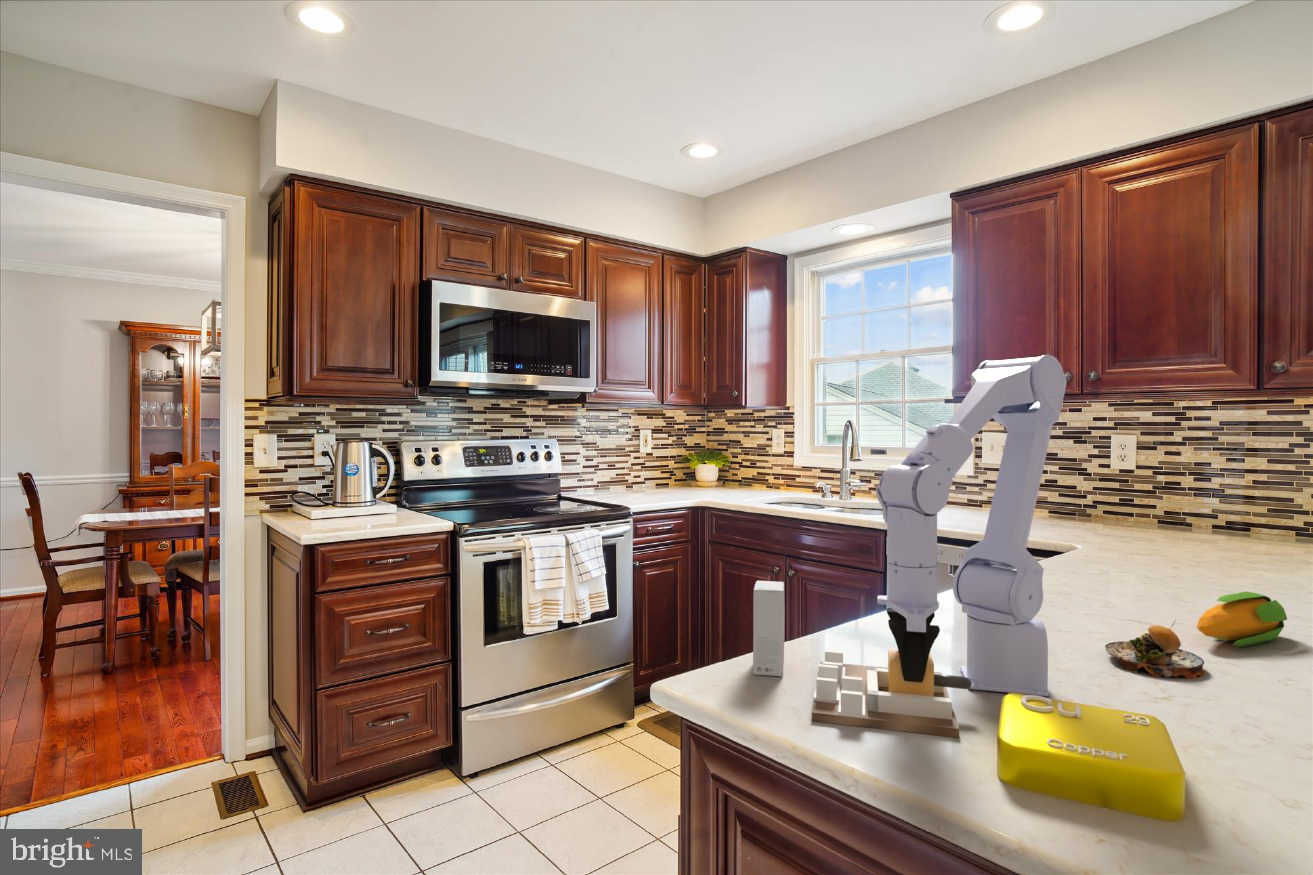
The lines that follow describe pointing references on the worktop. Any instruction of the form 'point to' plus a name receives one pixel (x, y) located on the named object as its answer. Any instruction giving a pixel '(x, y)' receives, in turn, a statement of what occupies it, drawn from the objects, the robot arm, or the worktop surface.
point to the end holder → (904, 699)
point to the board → (881, 719)
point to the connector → (929, 681)
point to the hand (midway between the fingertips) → (911, 674)
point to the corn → (1243, 619)
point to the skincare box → (768, 628)
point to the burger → (1157, 654)
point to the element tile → (1090, 756)
